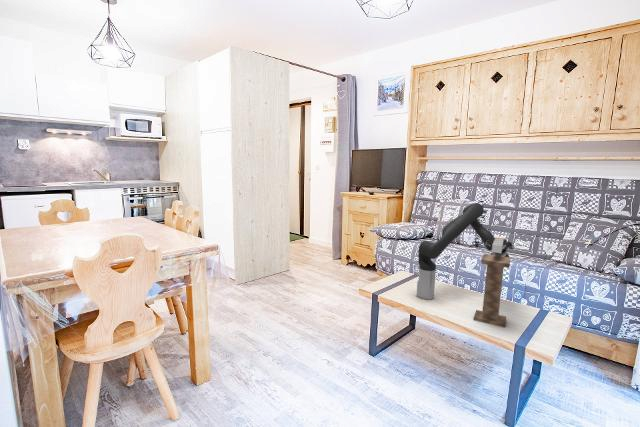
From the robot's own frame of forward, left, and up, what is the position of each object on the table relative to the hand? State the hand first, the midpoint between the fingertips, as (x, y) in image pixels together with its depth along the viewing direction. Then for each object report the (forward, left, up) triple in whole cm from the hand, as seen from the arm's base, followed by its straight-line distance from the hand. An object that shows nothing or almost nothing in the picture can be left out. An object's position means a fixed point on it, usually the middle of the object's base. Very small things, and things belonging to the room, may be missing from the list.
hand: (499, 240), depth 171 cm
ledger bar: (0, -6, -3) cm, 7 cm away
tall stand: (0, -12, -39) cm, 41 cm away
